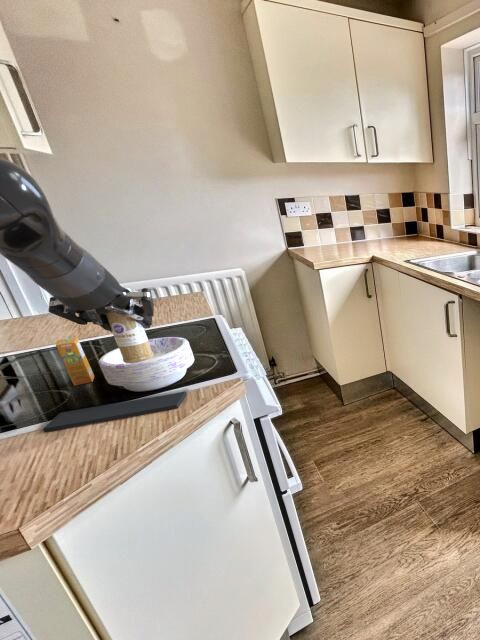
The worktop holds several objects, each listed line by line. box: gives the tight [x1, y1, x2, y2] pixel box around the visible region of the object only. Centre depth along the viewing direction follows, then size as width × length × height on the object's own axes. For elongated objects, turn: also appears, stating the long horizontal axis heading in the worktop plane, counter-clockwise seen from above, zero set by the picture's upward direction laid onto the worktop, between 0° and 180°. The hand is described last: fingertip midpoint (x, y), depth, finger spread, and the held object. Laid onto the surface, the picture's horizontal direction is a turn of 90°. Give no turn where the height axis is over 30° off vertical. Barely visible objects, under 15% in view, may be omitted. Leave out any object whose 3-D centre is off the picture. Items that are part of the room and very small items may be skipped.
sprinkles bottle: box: [106, 287, 154, 363], centre depth 77 cm, size 5×5×13 cm
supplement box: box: [55, 336, 95, 387], centre depth 92 cm, size 3×3×10 cm
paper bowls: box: [98, 336, 195, 393], centre depth 92 cm, size 15×15×8 cm
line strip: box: [42, 391, 187, 433], centre depth 81 cm, size 20×6×1 cm, turn 113°
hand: (131, 325), depth 79 cm, fingers closed on sprinkles bottle, 4 cm apart
